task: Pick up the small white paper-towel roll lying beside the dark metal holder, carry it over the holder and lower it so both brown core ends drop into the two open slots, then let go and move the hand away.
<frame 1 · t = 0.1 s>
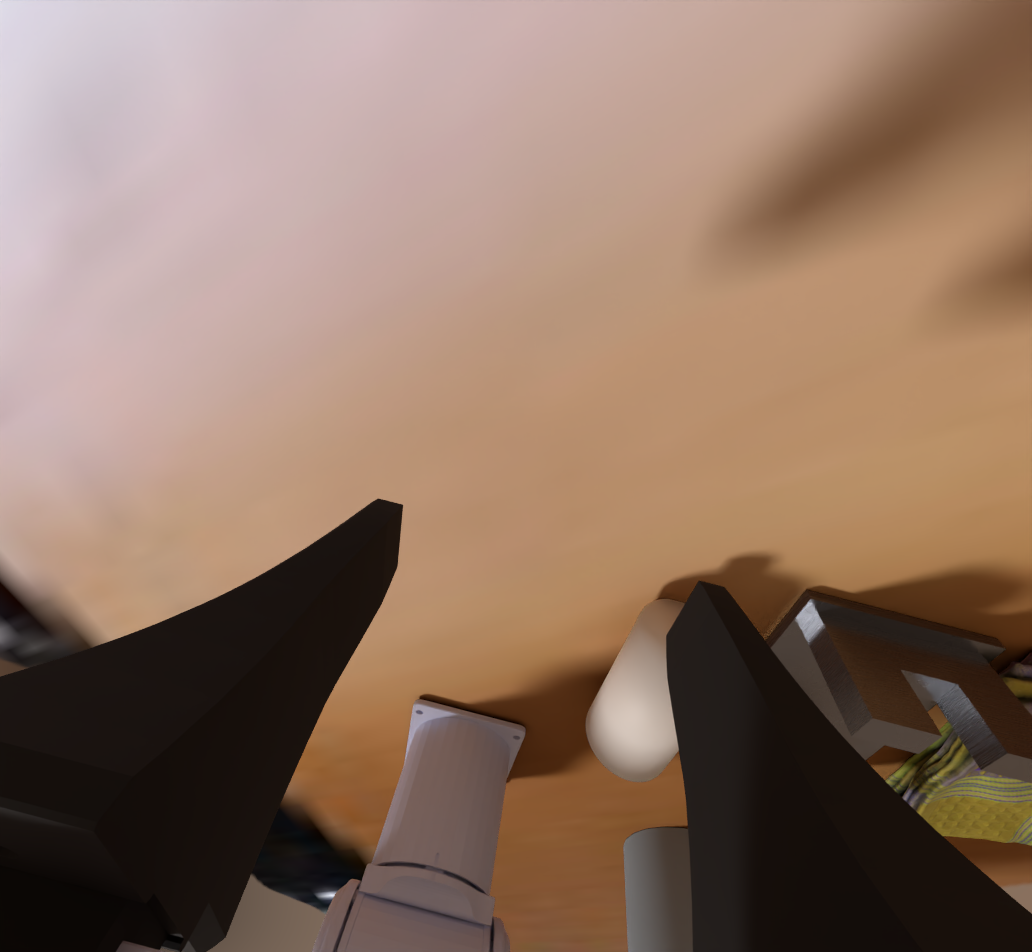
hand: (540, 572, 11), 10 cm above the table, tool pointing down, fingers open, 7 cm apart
roll holder: (817, 698, 27), on the table
spray bottle: (677, 849, 39), on the table
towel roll: (654, 692, 25), point 2 cm above the table
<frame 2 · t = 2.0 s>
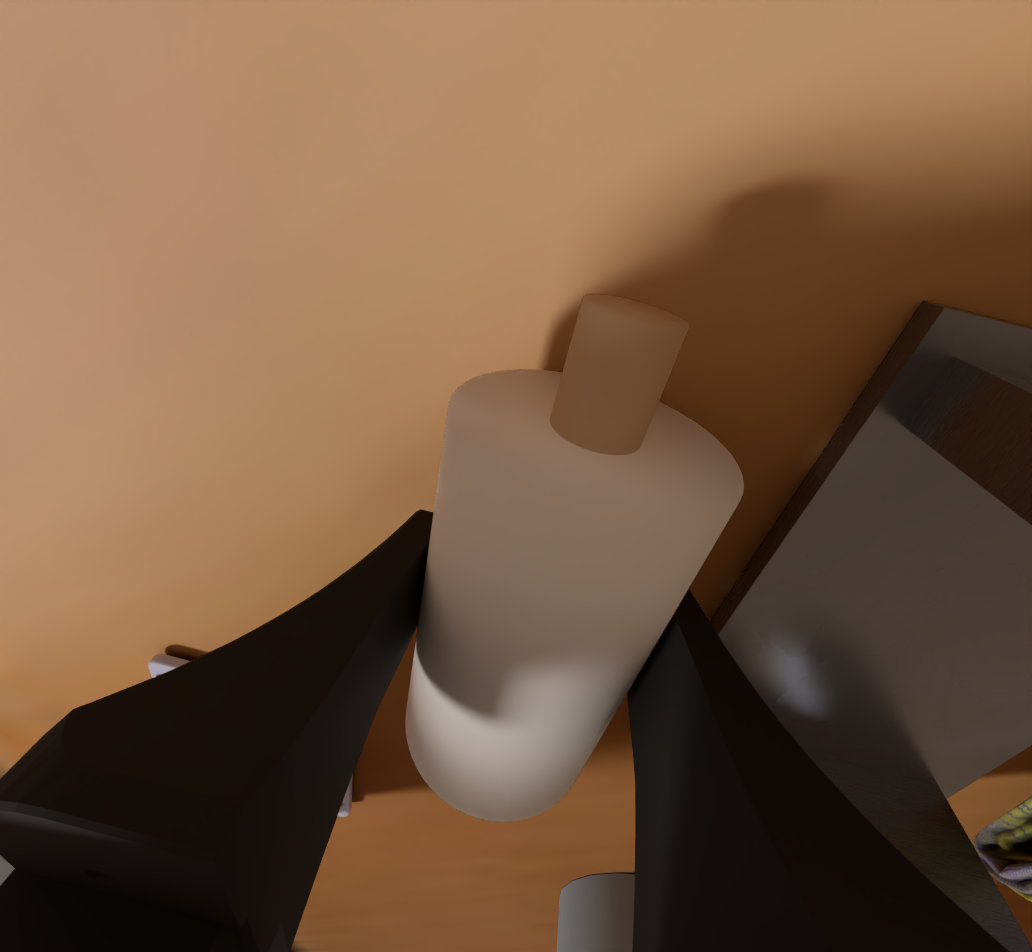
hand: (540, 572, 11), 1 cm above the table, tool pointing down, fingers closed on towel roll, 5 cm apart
roll holder: (911, 629, 12), on the table
spray bottle: (643, 904, 25), on the table
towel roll: (535, 605, 10), point 2 cm above the table, touching gripper
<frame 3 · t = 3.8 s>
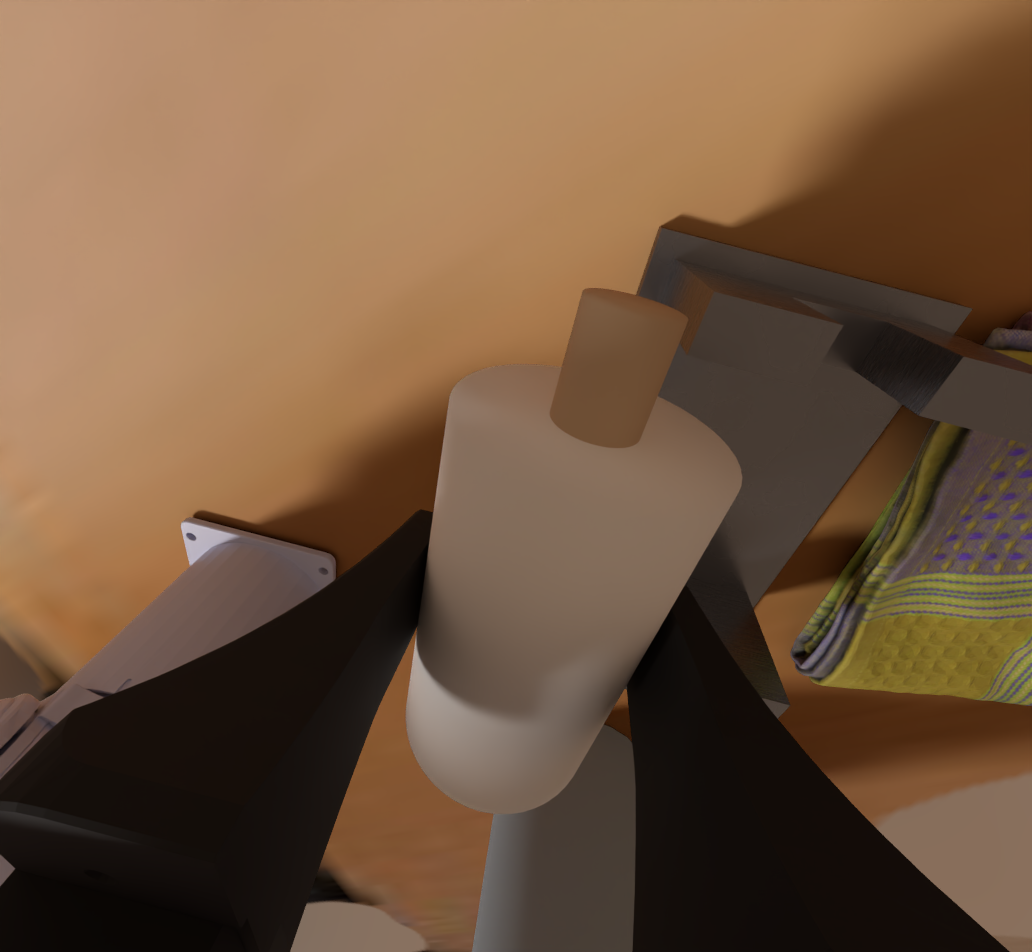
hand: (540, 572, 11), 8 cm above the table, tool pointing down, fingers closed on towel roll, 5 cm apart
roll holder: (706, 463, 18), on the table
spray bottle: (570, 752, 31), on the table
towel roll: (535, 599, 10), point 9 cm above the table, touching gripper
when the fingers open (4 cm above the table, at t = 5.8 s): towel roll stays where it is, resting on roll holder.
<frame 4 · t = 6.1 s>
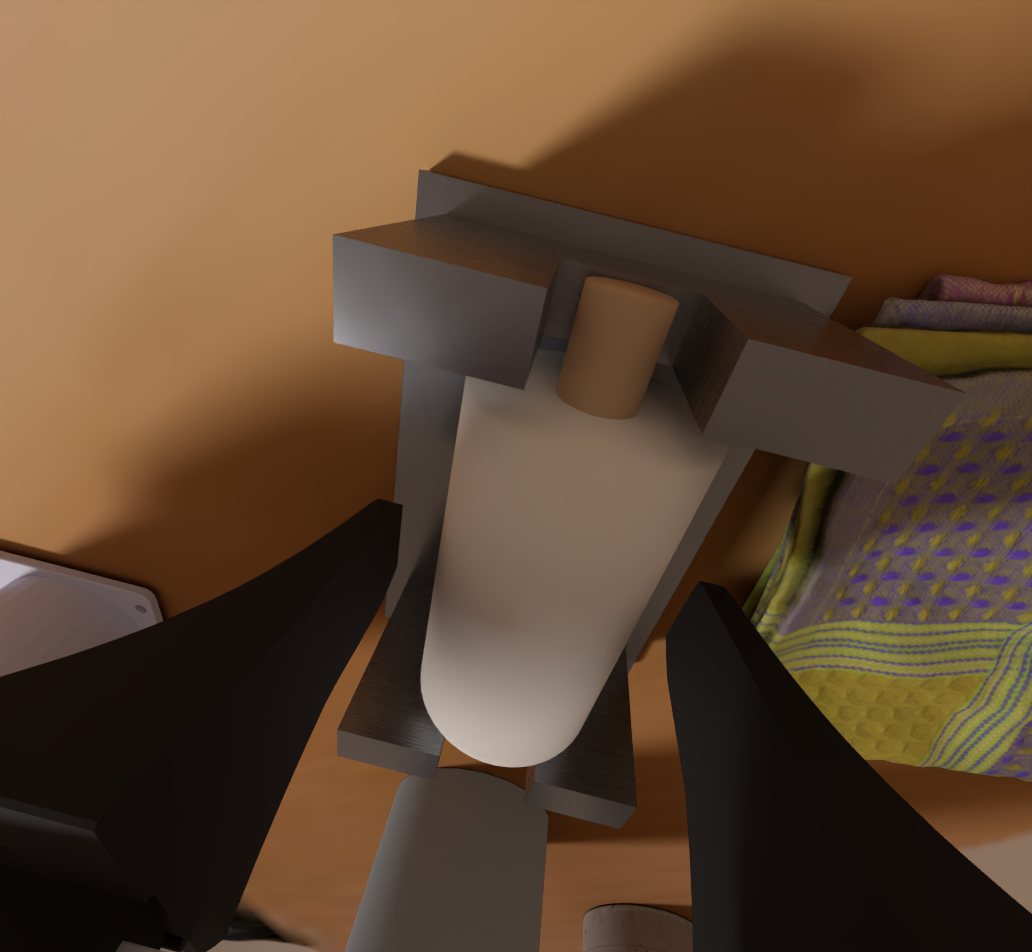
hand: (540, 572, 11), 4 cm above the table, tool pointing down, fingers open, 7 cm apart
roll holder: (552, 485, 15), on the table
spray bottle: (472, 805, 27), on the table
thermos bottle: (640, 922, 33), on the table
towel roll: (541, 567, 11), point 4 cm above the table, touching roll holder
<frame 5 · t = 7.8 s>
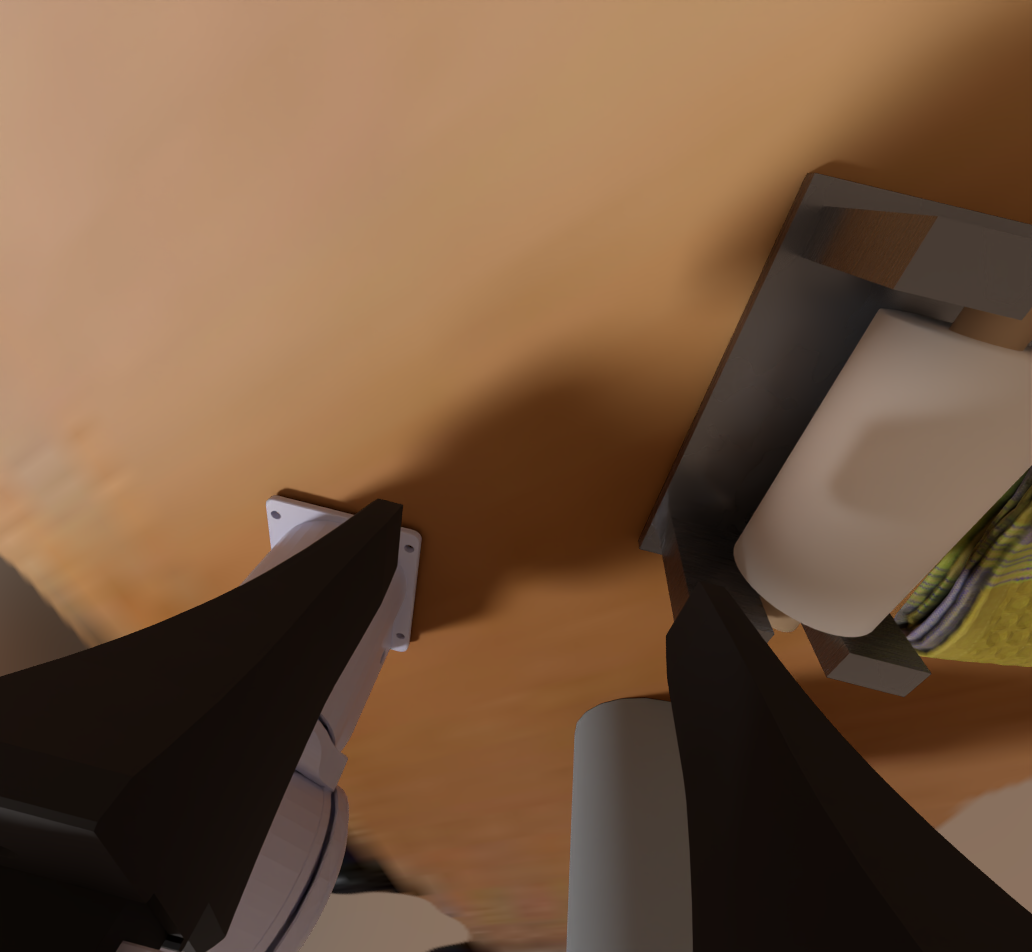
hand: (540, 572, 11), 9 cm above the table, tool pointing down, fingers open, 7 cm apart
roll holder: (825, 428, 18), on the table
spray bottle: (643, 736, 31), on the table
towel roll: (878, 479, 15), point 4 cm above the table, touching roll holder
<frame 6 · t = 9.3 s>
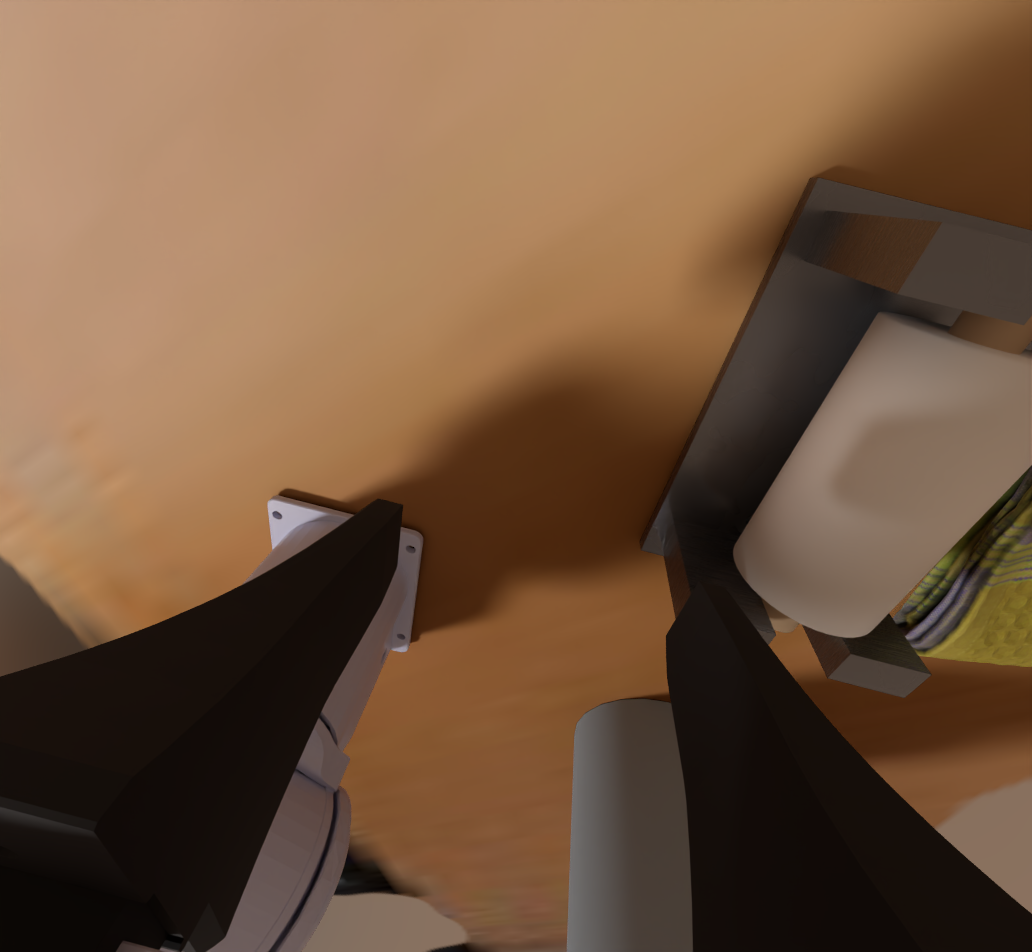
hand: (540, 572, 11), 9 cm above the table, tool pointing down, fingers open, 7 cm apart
roll holder: (827, 430, 18), on the table
spray bottle: (642, 737, 31), on the table
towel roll: (876, 481, 15), point 4 cm above the table, touching roll holder
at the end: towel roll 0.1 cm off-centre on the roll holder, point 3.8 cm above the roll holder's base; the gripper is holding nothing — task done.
